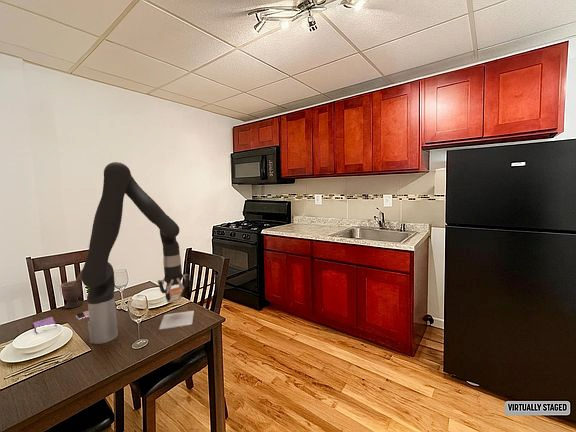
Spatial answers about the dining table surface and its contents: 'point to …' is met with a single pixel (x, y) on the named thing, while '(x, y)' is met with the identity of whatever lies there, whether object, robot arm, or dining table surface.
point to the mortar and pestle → (72, 292)
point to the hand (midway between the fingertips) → (175, 298)
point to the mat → (177, 320)
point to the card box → (175, 294)
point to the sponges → (44, 322)
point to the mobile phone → (82, 315)
